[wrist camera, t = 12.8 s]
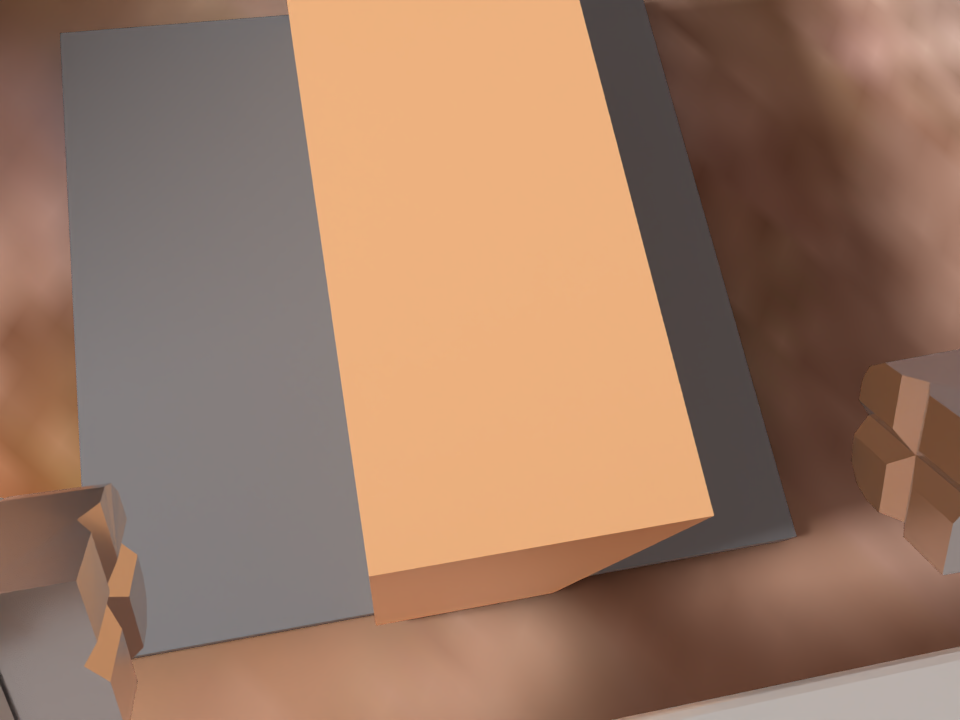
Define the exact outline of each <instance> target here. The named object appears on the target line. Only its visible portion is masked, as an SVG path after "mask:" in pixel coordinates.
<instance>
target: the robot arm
mask: <svg viewBox="0 0 960 720" xmlns="http://www.w3.org/2000/svg"><path fill="white" fill-rule="evenodd" d="M859 401H860V402H861V404H862V405H863V407H864V408H865V410H866V411H867V413H868V414H869V415H868V417H867V418H866V419H865V421H864V422H863V423H862V424H861V426H860V427H859V428H858V430H857V431H856V432H855V434H854V439H853V448H852V458H851V461H852V465H853V469H854V473H855V478H856V482H857V484H858V486H859V488H860V490H861V491H862V493H863V495H864V497H865V499H866V500H867V501H868V502H869V503H870V504H871V505H872V506H873V507H874V508H875V509H876V510H877V511H878V512H879V513H881V514H884V515H886V516H889V517H891V518H894V519H897V520H899V521H902V522H904V536H903V537H904V538H905V539H906V540H907V541H908V542H909V543H910V544H911V545H912V546H913V547H914V548H915V549H916V550H917V551H918V552H919V553H920V554H921V555H922V556H923V557H924V558H925V559H926V560H927V561H928V562H929V563H930V564H931V565H932V566H934V567H935V568H936V569H937V570H938V571H939V572H940V573H941V574H942V575H947V574H953V573H959V572H960V349H957V350H952V351H947V352H941V353H936V354H930V355H925V356H920V357H914V358H909V359H903V360H898V361H892V362H887V363H882V364H877V365H873V366H869V368H868V370H867V372H866V374H865V376H864V378H863V379H862V384H861V390H860V397H859ZM126 521H127V517H126V514H125V511H124V508H123V505H122V502H121V499H120V496H119V492H118V491H117V490H116V488H115V487H114V486H113V485H112V484H111V483H106V484H99V485H91V486H84V487H77V488H70V489H62V490H55V491H48V492H41V493H33V494H26V495H19V496H12V497H7V498H5V499H4V498H0V720H131V715H132V709H133V704H134V698H135V693H136V688H137V682H138V681H137V677H136V674H135V671H134V667H133V664H132V661H131V660H132V659H133V658H134V657H135V656H136V655H137V654H138V653H139V652H140V651H141V650H142V649H143V647H144V642H145V636H146V629H147V597H146V591H145V584H144V578H143V573H142V570H141V566H140V562H139V559H138V555H137V554H136V553H134V552H133V551H131V550H130V549H129V548H127V547H126V546H124V545H123V544H122V539H123V534H124V530H125V526H126ZM613 720H960V647H955V648H950V649H945V650H941V651H936V652H931V653H926V654H922V655H917V656H912V657H907V658H903V659H898V660H893V661H888V662H884V663H879V664H874V665H869V666H865V667H860V668H855V669H850V670H846V671H841V672H836V673H831V674H827V675H822V676H817V677H813V678H808V679H803V680H799V681H794V682H789V683H784V684H780V685H775V686H770V687H766V688H761V689H756V690H751V691H747V692H742V693H737V694H732V695H727V696H723V697H718V698H713V699H708V700H704V701H699V702H694V703H689V704H685V705H680V706H675V707H670V708H666V709H661V710H656V711H651V712H647V713H642V714H637V715H632V716H628V717H623V718H618V719H613Z"/></svg>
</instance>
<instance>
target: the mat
mask: <svg viewBox="0 0 960 720" xmlns="http://www.w3.org/2000/svg"><path fill="white" fill-rule="evenodd" d="M579 1H580V5H581V8H582V12H583V16H584V20H585V24H586V28H587V31H588V35H589V39H590V43H591V47H592V50H593V54H594V58H595V62H596V66H597V70H598V73H599V77H600V81H601V85H602V89H603V93H604V96H605V100H606V104H607V108H608V112H609V115H610V119H611V123H612V127H613V131H614V135H615V138H616V142H617V146H618V150H619V154H620V157H621V161H622V165H623V169H624V173H625V177H626V180H627V184H628V188H629V192H630V196H631V200H632V203H633V207H634V211H635V215H636V219H637V222H638V226H639V230H640V234H641V238H642V242H643V245H644V249H645V253H646V257H647V261H648V265H649V268H650V272H651V276H652V280H653V284H654V287H655V291H656V295H657V299H658V303H659V307H660V310H661V314H662V318H663V322H664V326H665V329H666V333H667V337H668V341H669V345H670V349H671V352H672V356H673V360H674V364H675V368H676V372H677V375H678V379H679V383H680V387H681V391H682V394H683V398H684V402H685V406H686V410H687V414H688V417H689V421H690V425H691V429H692V433H693V437H694V440H695V444H696V448H697V452H698V456H699V459H700V463H701V467H702V471H703V475H704V479H705V482H706V486H707V490H708V494H709V498H710V502H711V505H712V509H713V513H714V516H713V517H711V518H708V519H706V520H704V521H702V522H700V523H698V524H696V525H694V526H692V527H690V528H688V529H685V530H683V531H681V532H679V533H677V534H675V535H673V536H671V537H669V538H667V539H665V540H662V541H660V542H658V543H656V544H654V545H652V546H650V547H648V548H646V549H644V550H642V551H640V552H637V553H635V554H633V555H631V556H629V557H627V558H625V559H623V560H621V561H619V562H617V563H614V564H612V565H610V566H608V567H606V568H604V569H602V570H600V571H598V572H596V573H594V574H591V575H597V574H602V573H608V572H613V571H619V570H624V569H630V568H635V567H641V566H646V565H652V564H658V563H663V562H669V561H674V560H680V559H685V558H691V557H696V556H702V555H707V554H713V553H718V552H724V551H729V550H735V549H740V548H746V547H751V546H757V545H762V544H768V543H773V542H779V541H785V540H788V539H791V538H794V537H797V536H796V533H795V529H794V526H793V522H792V519H791V515H790V512H789V508H788V505H787V501H786V498H785V494H784V491H783V487H782V484H781V480H780V477H779V473H778V470H777V466H776V463H775V459H774V456H773V452H772V449H771V445H770V442H769V438H768V435H767V431H766V428H765V424H764V421H763V417H762V414H761V410H760V407H759V403H758V400H757V396H756V393H755V389H754V386H753V382H752V379H751V375H750V372H749V368H748V365H747V361H746V358H745V354H744V351H743V347H742V344H741V340H740V337H739V333H738V330H737V326H736V323H735V319H734V316H733V312H732V309H731V305H730V302H729V298H728V295H727V291H726V288H725V284H724V281H723V277H722V274H721V270H720V267H719V263H718V260H717V256H716V253H715V249H714V246H713V242H712V239H711V235H710V232H709V228H708V225H707V221H706V218H705V214H704V211H703V207H702V204H701V200H700V197H699V193H698V190H697V186H696V183H695V179H694V176H693V172H692V169H691V165H690V162H689V158H688V155H687V151H686V148H685V144H684V141H683V137H682V134H681V130H680V127H679V123H678V120H677V116H676V113H675V109H674V106H673V102H672V99H671V95H670V92H669V88H668V85H667V81H666V78H665V74H664V71H663V67H662V64H661V60H660V57H659V53H658V50H657V46H656V43H655V39H654V36H653V32H652V29H651V25H650V22H649V18H648V15H647V11H646V8H645V4H644V1H643V0H579ZM60 44H61V65H62V86H63V106H64V127H65V148H66V169H67V190H68V211H69V232H70V253H71V274H72V295H73V316H74V337H75V357H76V378H77V399H78V420H79V441H80V462H81V483H82V487H84V486H91V485H99V484H106V483H111V484H112V485H113V486H114V487H115V488H116V490H117V491H118V492H119V496H120V499H121V502H122V505H123V508H124V511H125V514H126V517H127V521H126V526H125V530H124V534H123V539H122V544H123V545H124V546H126V547H127V548H129V549H130V550H131V551H133V552H134V553H136V554H137V555H138V559H139V562H140V566H141V570H142V573H143V578H144V584H145V591H146V597H147V629H146V636H145V642H144V647H143V649H142V650H141V651H140V652H139V653H138V654H137V655H136V656H135V657H134V658H139V657H144V656H150V655H155V654H161V653H166V652H172V651H177V650H183V649H188V648H194V647H199V646H205V645H210V644H216V643H221V642H227V641H232V640H238V639H243V638H249V637H254V636H260V635H265V634H271V633H277V632H282V631H288V630H293V629H299V628H304V627H310V626H315V625H321V624H326V623H332V622H337V621H343V620H348V619H354V618H359V617H365V616H370V615H374V609H373V602H372V595H371V588H370V581H369V574H368V567H367V560H366V553H365V546H364V539H363V532H362V525H361V518H360V511H359V504H358V497H357V490H356V483H355V476H354V469H353V462H352V455H351V448H350V441H349V434H348V427H347V420H346V413H345V406H344V398H343V391H342V384H341V377H340V370H339V363H338V356H337V349H336V342H335V335H334V328H333V321H332V314H331V307H330V300H329V293H328V286H327V279H326V272H325V265H324V258H323V251H322V244H321V237H320V230H319V223H318V216H317V209H316V202H315V195H314V188H313V181H312V174H311V167H310V160H309V153H308V146H307V139H306V132H305V125H304V118H303V111H302V104H301V97H300V90H299V83H298V76H297V69H296V62H295V55H294V48H293V41H292V34H291V27H290V20H289V15H281V16H268V17H256V18H243V19H231V20H218V21H206V22H193V23H181V24H168V25H155V26H143V27H130V28H118V29H105V30H93V31H80V32H68V33H60ZM591 575H589V576H591Z"/></svg>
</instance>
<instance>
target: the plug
mask: <svg viewBox="0 0 960 720" xmlns="http://www.w3.org/2000/svg"><path fill="white" fill-rule="evenodd" d="M287 6H288V13H289V20H290V27H291V34H292V41H293V48H294V55H295V62H296V69H297V76H298V83H299V90H300V97H301V104H302V111H303V118H304V125H305V132H306V139H307V146H308V153H309V160H310V167H311V174H312V181H313V188H314V195H315V202H316V209H317V216H318V223H319V230H320V237H321V244H322V251H323V258H324V265H325V272H326V279H327V286H328V293H329V300H330V307H331V314H332V321H333V328H334V335H335V342H336V349H337V356H338V363H339V370H340V377H341V384H342V391H343V398H344V406H345V413H346V420H347V427H348V434H349V441H350V448H351V455H352V462H353V469H354V476H355V483H356V490H357V497H358V504H359V511H360V518H361V525H362V532H363V539H364V546H365V553H366V560H367V567H368V574H369V581H370V588H371V595H372V602H373V609H374V616H375V623H376V626H377V625H383V624H388V623H393V622H399V621H404V620H410V619H415V618H421V617H426V616H431V615H437V614H442V613H448V612H453V611H458V610H464V609H469V608H475V607H480V606H486V605H491V604H496V603H502V602H507V601H513V600H518V599H523V598H529V597H534V596H540V595H545V594H551V593H554V592H556V591H558V590H560V589H562V588H564V587H566V586H569V585H571V584H573V583H575V582H577V581H579V580H581V579H583V578H585V577H587V576H589V575H591V574H594V573H596V572H598V571H600V570H602V569H604V568H606V567H608V566H610V565H612V564H614V563H617V562H619V561H621V560H623V559H625V558H627V557H629V556H631V555H633V554H635V553H637V552H640V551H642V550H644V549H646V548H648V547H650V546H652V545H654V544H656V543H658V542H660V541H662V540H665V539H667V538H669V537H671V536H673V535H675V534H677V533H679V532H681V531H683V530H685V529H688V528H690V527H692V526H694V525H696V524H698V523H700V522H702V521H704V520H706V519H708V518H711V517H713V516H714V513H713V509H712V505H711V502H710V498H709V494H708V490H707V486H706V482H705V479H704V475H703V471H702V467H701V463H700V459H699V456H698V452H697V448H696V444H695V440H694V437H693V433H692V429H691V425H690V421H689V417H688V414H687V410H686V406H685V402H684V398H683V394H682V391H681V387H680V383H679V379H678V375H677V372H676V368H675V364H674V360H673V356H672V352H671V349H670V345H669V341H668V337H667V333H666V329H665V326H664V322H663V318H662V314H661V310H660V307H659V303H658V299H657V295H656V291H655V287H654V284H653V280H652V276H651V272H650V268H649V265H648V261H647V257H646V253H645V249H644V245H643V242H642V238H641V234H640V230H639V226H638V222H637V219H636V215H635V211H634V207H633V203H632V200H631V196H630V192H629V188H628V184H627V180H626V177H625V173H624V169H623V165H622V161H621V157H620V154H619V150H618V146H617V142H616V138H615V135H614V131H613V127H612V123H611V119H610V115H609V112H608V108H607V104H606V100H605V96H604V93H603V89H602V85H601V81H600V77H599V73H598V70H597V66H596V62H595V58H594V54H593V50H592V47H591V43H590V39H589V35H588V31H587V28H586V24H585V20H584V16H583V12H582V8H581V5H580V1H579V0H287Z"/></svg>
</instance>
